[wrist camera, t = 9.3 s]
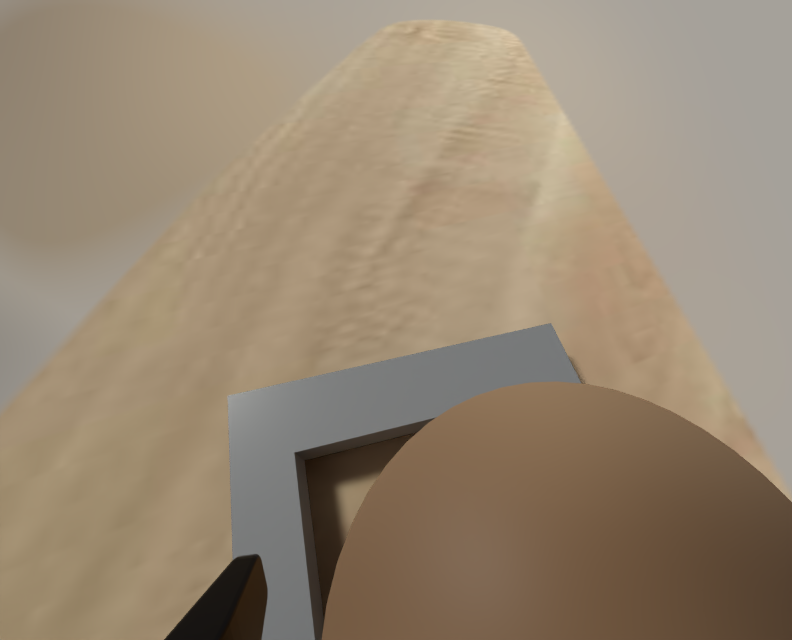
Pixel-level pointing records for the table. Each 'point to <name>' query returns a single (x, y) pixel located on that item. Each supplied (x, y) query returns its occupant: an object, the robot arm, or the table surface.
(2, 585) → the table surface
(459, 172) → the table surface
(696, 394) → the table surface
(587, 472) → the cable reel
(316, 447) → the gray square washer
